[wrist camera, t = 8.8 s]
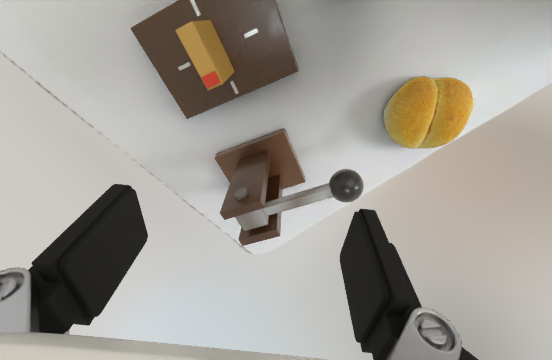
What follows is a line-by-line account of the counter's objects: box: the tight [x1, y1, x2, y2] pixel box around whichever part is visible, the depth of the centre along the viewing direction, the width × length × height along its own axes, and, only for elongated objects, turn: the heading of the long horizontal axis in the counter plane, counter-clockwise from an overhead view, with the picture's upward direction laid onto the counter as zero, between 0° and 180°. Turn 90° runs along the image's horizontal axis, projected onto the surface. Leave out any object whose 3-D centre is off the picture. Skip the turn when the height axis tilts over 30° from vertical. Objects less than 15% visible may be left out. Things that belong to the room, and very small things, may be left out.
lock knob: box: [176, 20, 235, 90], centre depth 23 cm, size 5×2×6 cm, turn 23°
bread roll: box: [383, 77, 474, 148], centre depth 28 cm, size 8×9×4 cm
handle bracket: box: [215, 129, 305, 246], centre depth 30 cm, size 10×8×12 cm
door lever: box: [235, 169, 363, 231], centre depth 25 cm, size 13×3×3 cm, turn 113°
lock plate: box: [131, 0, 298, 119], centre depth 26 cm, size 14×10×2 cm
